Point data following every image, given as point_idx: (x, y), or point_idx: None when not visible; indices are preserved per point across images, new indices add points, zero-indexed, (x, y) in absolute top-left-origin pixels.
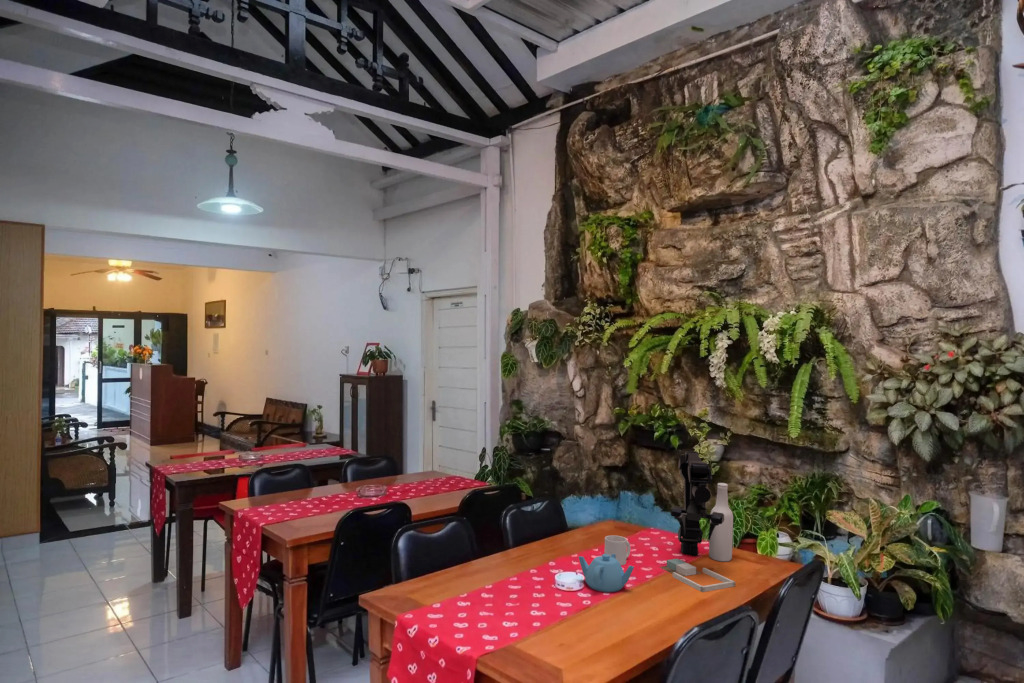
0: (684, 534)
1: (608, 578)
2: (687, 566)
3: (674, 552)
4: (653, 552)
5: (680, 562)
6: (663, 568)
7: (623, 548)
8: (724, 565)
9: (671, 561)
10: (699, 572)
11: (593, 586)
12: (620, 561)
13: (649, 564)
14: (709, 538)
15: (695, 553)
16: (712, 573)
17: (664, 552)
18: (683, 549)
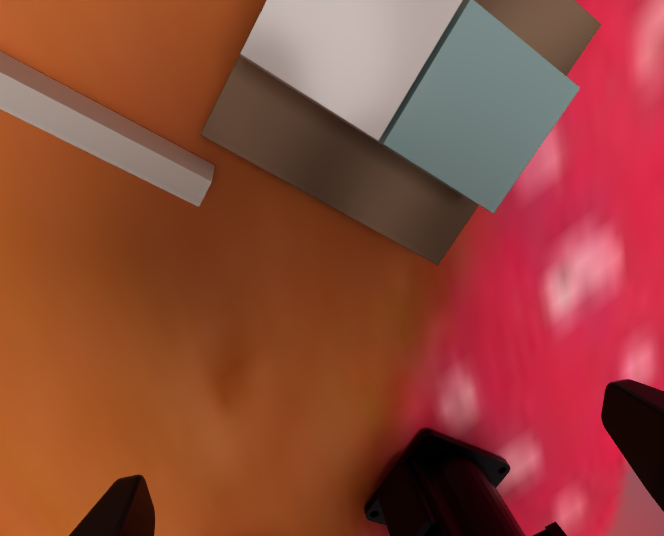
0: (623, 398)
1: None
2: (336, 13)
3: (531, 488)
4: None
5: (440, 109)
6: (557, 8)
7: None
8: (176, 505)
9: (531, 71)
10: (232, 139)
11: None
12: None
13: (660, 144)
14: (103, 500)
15: (397, 502)
16: (59, 99)
17: (587, 446)
18: (491, 493)
